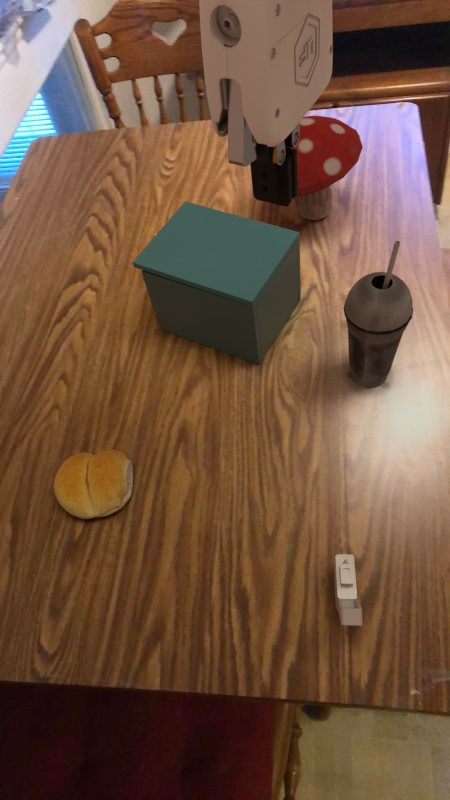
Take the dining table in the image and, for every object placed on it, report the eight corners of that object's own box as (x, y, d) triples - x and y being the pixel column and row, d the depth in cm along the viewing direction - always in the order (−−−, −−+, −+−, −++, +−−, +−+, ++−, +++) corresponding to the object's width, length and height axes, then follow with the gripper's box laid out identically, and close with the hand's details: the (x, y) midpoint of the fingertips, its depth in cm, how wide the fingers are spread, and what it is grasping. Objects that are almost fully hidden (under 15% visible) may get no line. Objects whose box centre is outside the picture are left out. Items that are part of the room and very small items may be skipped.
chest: (159, 329, 79) (140, 271, 70) (205, 270, 84) (192, 209, 75) (259, 365, 73) (252, 307, 64) (300, 299, 79) (299, 237, 70)
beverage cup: (327, 366, 72) (333, 240, 55) (375, 341, 73) (395, 212, 56) (361, 406, 68) (378, 284, 51) (411, 380, 69) (443, 253, 52)
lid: (133, 267, 70) (132, 262, 69) (186, 206, 75) (185, 200, 75) (252, 306, 64) (252, 301, 63) (299, 237, 70) (299, 232, 69)
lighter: (333, 568, 57) (336, 540, 51) (351, 568, 57) (356, 540, 50) (337, 643, 53) (341, 623, 47) (356, 644, 53) (363, 623, 46)
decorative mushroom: (300, 263, 83) (298, 172, 70) (235, 214, 91) (224, 124, 79) (380, 213, 87) (391, 118, 74) (311, 170, 95) (311, 78, 83)
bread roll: (63, 460, 68) (51, 444, 65) (136, 453, 68) (127, 436, 64) (54, 525, 64) (40, 511, 60) (132, 518, 63) (122, 503, 60)
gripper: (257, -31, 26) (276, 269, 41) (376, -138, 33) (355, 154, 48) (126, -41, 29) (189, 244, 44) (260, -138, 35) (274, 138, 50)
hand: (275, 196), depth 46 cm, fingers closed
